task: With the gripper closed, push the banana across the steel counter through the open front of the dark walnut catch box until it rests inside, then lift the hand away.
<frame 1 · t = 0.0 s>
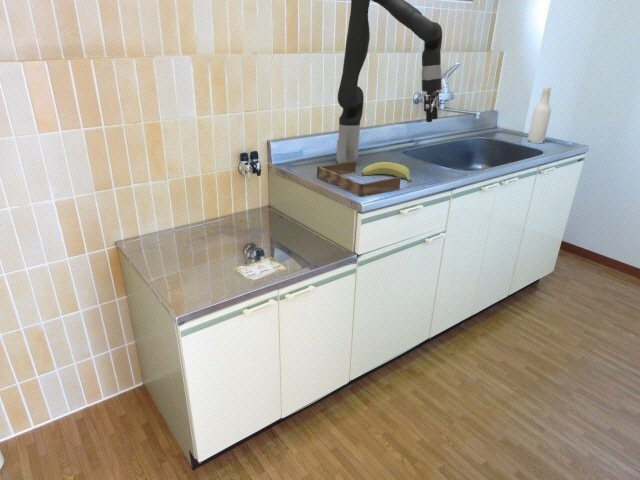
hand: (432, 120, 184), 22 cm above the worktop, tool pointing down, fingers open, 8 cm apart
alcohol: (535, 142, 261), on the worktop
catch box: (357, 183, 179), on the worktop
banana: (389, 178, 188), on the worktop
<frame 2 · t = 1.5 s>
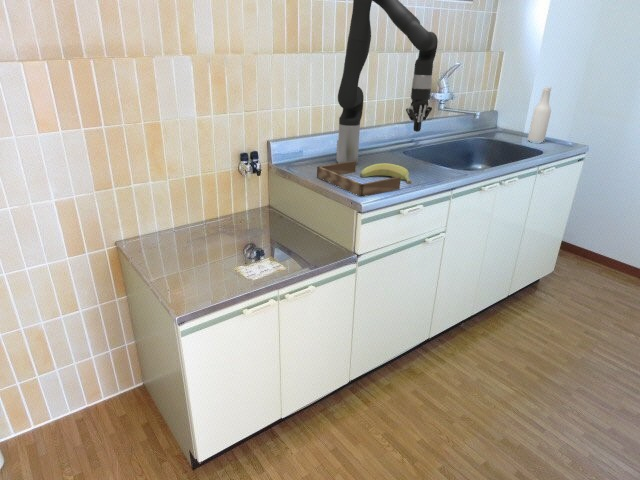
hand: (416, 131, 187), 18 cm above the worktop, tool pointing down, fingers closed
banana: (388, 180, 186), on the worktop
everything else where it was.
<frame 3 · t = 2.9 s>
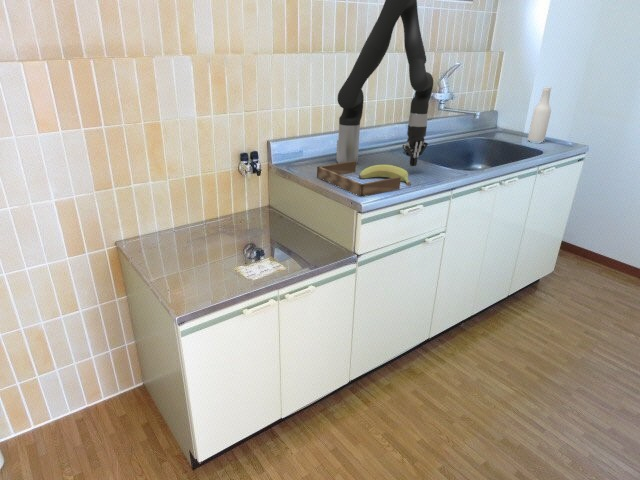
hand: (412, 165, 193), 3 cm above the worktop, tool pointing down, fingers closed
banana: (387, 181, 184), on the worktop
everything else where it was.
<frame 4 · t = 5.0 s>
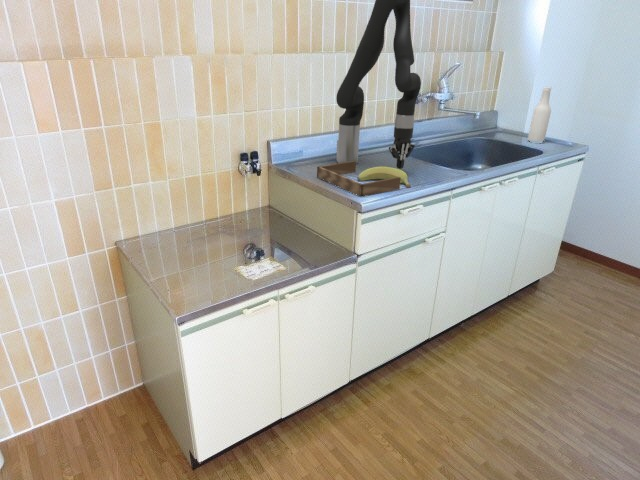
hand: (399, 168, 190), 3 cm above the worktop, tool pointing down, fingers closed
banana: (386, 183, 181), on the worktop
everything else where it was.
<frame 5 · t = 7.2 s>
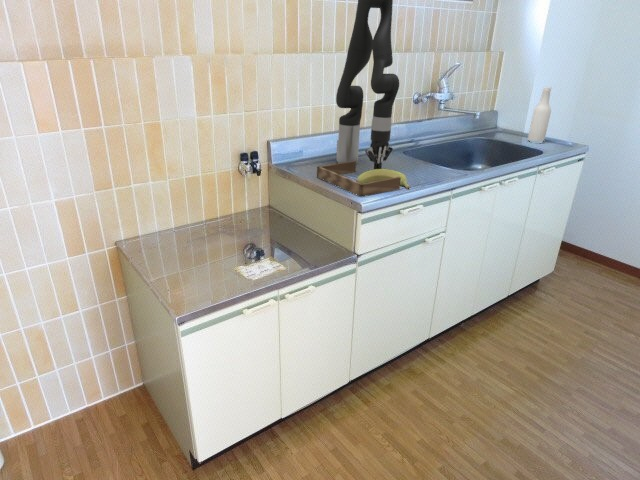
hand: (377, 171, 184), 3 cm above the worktop, tool pointing down, fingers closed
banana: (385, 186, 178), on the worktop, touching gripper
everything else where it was.
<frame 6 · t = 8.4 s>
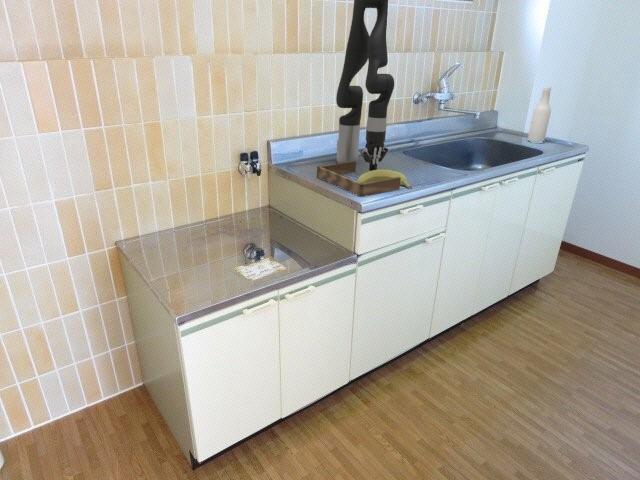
hand: (372, 172, 182), 3 cm above the worktop, tool pointing down, fingers closed
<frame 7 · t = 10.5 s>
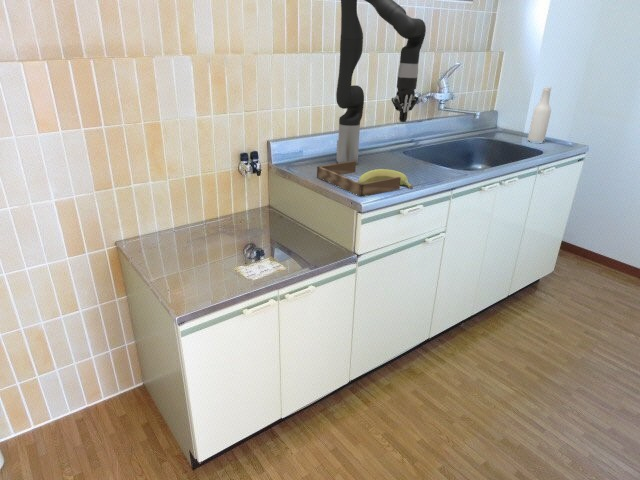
hand: (402, 121, 183), 22 cm above the worktop, tool pointing down, fingers closed
banana: (386, 186, 177), on the worktop
everything else where it was.
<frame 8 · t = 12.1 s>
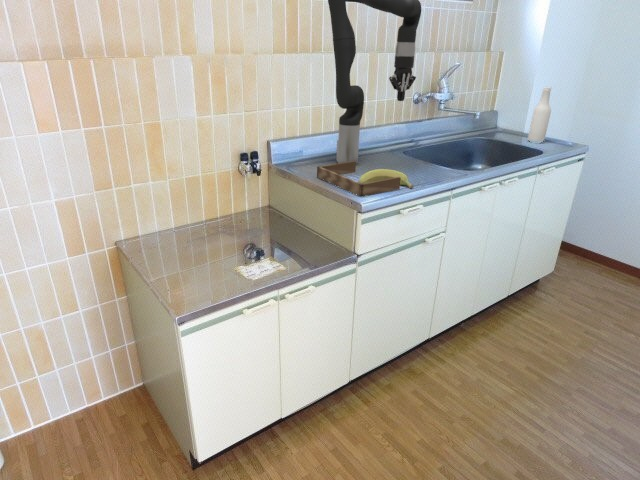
hand: (400, 100, 186), 29 cm above the worktop, tool pointing down, fingers closed
nothing on the worktop moved.
at the end: banana inside the target area on the catch box (11.6 cm from its centre), point -0.5 cm above the catch box's base; banana moved 11.8 cm from its start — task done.
